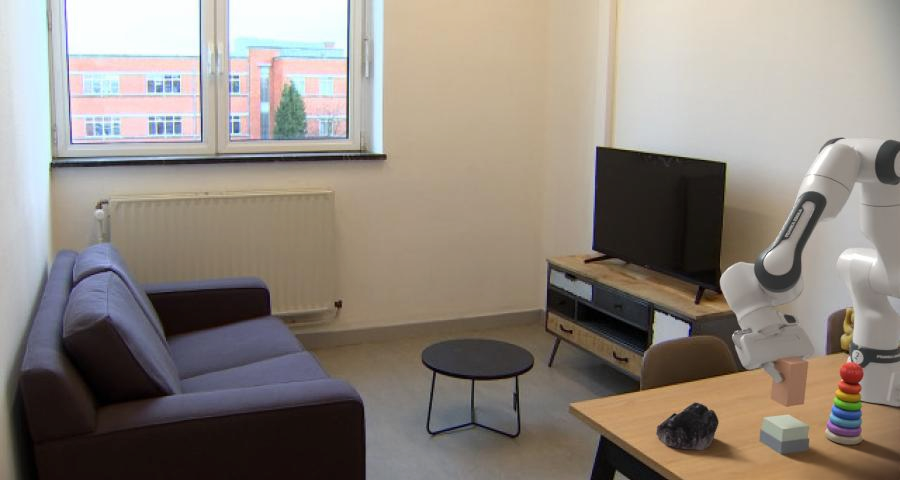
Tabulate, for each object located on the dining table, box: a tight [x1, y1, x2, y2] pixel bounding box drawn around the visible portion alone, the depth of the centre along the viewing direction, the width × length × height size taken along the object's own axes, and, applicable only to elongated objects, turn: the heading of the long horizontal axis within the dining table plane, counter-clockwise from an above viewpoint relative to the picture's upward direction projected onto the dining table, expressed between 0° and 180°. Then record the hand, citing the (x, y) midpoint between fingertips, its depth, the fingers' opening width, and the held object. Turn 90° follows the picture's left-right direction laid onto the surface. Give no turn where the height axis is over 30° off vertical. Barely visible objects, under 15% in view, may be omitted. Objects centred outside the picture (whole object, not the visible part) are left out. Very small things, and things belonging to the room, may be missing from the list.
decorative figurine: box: [840, 306, 854, 354], centre depth 268 cm, size 10×8×15 cm
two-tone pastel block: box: [759, 414, 810, 455], centre depth 200 cm, size 8×8×6 cm
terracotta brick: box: [770, 356, 809, 408], centre depth 198 cm, size 5×5×10 cm
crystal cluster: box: [655, 402, 719, 451], centre depth 202 cm, size 13×14×10 cm
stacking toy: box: [824, 362, 864, 446], centre depth 203 cm, size 8×8×19 cm
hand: (791, 379), depth 197 cm, fingers closed on terracotta brick, 5 cm apart
